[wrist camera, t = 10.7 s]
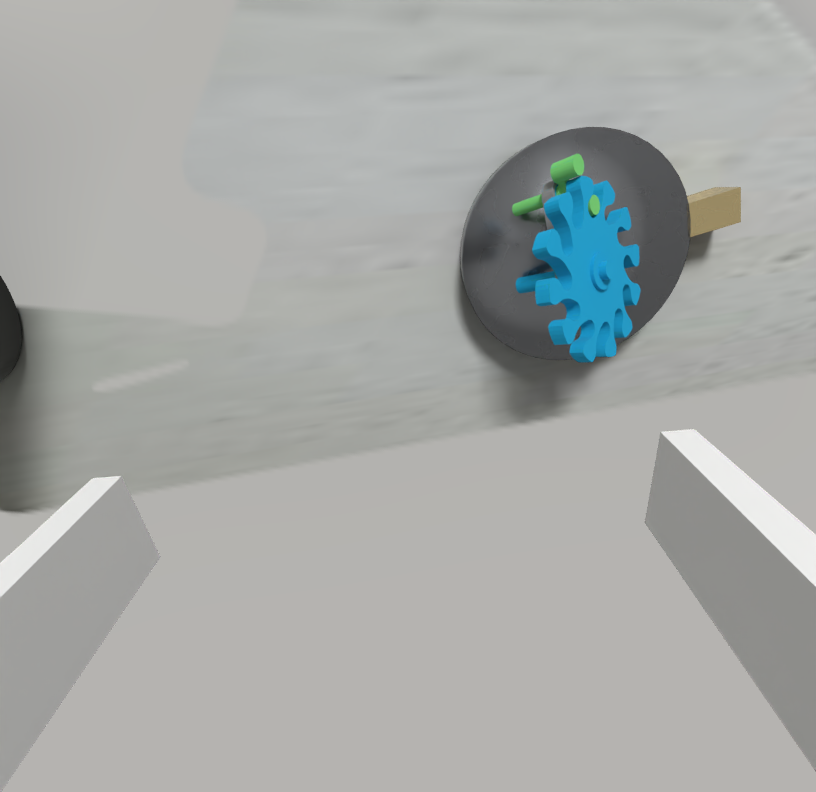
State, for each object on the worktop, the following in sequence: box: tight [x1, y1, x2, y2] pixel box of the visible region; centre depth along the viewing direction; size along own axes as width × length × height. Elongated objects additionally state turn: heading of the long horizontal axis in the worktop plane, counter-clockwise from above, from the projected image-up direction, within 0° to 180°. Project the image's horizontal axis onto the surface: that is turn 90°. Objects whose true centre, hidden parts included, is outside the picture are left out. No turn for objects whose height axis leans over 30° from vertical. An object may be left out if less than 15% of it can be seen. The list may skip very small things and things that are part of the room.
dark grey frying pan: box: [460, 127, 741, 360], centre depth 28 cm, size 17×14×2 cm
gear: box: [512, 154, 641, 362], centre depth 26 cm, size 11×6×10 cm
